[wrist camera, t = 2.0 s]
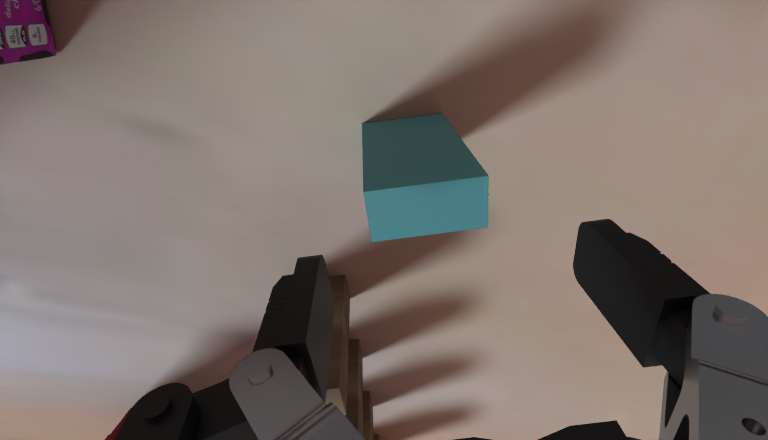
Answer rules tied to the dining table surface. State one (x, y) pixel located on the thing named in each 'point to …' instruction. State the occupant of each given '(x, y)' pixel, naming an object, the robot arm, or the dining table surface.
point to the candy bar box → (24, 31)
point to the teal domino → (420, 179)
